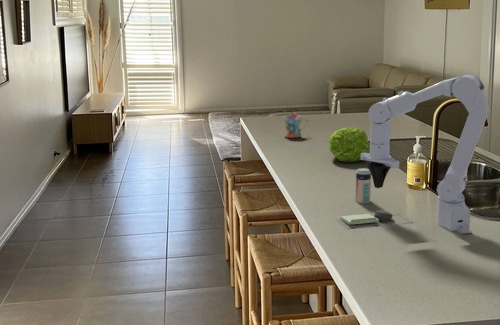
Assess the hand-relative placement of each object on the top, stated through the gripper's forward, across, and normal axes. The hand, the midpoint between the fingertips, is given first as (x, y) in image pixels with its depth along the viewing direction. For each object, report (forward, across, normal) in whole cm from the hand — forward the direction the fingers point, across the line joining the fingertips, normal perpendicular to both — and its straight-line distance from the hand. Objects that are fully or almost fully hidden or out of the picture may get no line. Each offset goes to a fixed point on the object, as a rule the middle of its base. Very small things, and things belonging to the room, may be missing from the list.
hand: (378, 187), depth 195 cm
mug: (+10, +120, -56) cm, 132 cm away
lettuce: (+10, +68, -45) cm, 82 cm away
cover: (+8, -2, +9) cm, 12 cm away
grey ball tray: (+10, -4, +6) cm, 12 cm away
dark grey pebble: (+9, -4, +2) cm, 10 cm away
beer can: (+10, +13, -6) cm, 17 cm away
